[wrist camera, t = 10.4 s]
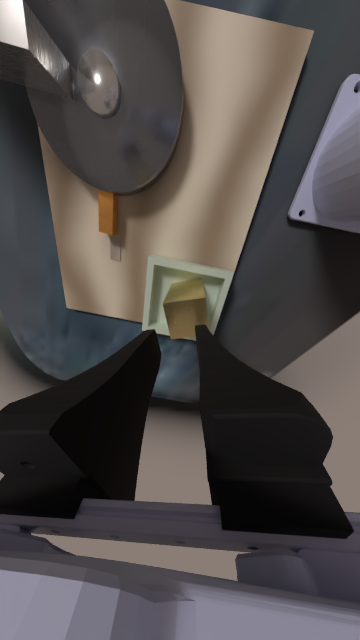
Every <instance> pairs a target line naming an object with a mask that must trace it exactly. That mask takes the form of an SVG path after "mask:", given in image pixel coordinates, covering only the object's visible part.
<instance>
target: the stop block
mask: <svg viewBox="0 0 360 640" xmlns="http://www.w3.org/2000/svg"><path fill="white" fill-rule="evenodd" d="M163 308H164V312H165V316H166V321H167V325H168V329H169V334H170V338H171V339H178V338H188V337H196V335H195V325H203V324H205V325H206V326H207V327H208V329H209V324H208V314H207V305H206V296H205V292H204V287H203V283H202V278H200V279H193V280H187V281H180V282H174V283H172V285H171V287H170V289H169V291H168V293H167V295H166V297H165V299H164V301H163Z"/></svg>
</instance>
